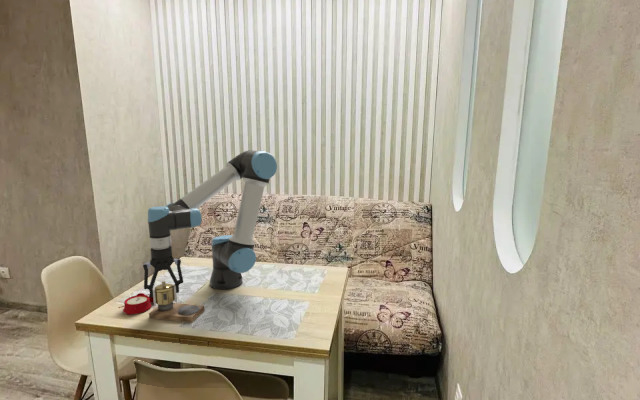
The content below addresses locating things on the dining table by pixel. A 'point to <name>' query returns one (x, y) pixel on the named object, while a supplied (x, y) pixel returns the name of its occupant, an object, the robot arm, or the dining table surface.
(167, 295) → the cap
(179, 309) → the post plinth
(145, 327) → the dining table surface
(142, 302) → the alarm clock
